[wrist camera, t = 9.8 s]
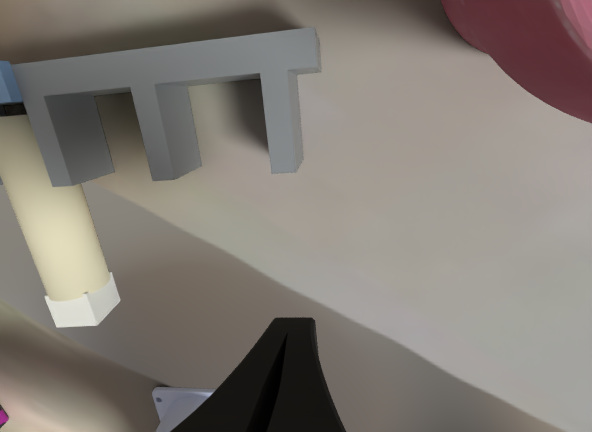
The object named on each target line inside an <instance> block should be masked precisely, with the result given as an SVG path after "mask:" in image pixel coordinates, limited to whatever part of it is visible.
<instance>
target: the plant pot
mask: <svg viewBox="0 0 592 432" xmlns="http://www.w3.org/2000/svg"><path fill="white" fill-rule="evenodd" d="M441 3H442V6H443V8H444V10H445V13H446V15H447V17H448V19H449V20H450V22H451V24H452V25H453V26H454V28H455V29H456V30H457V32H458V33H459V34H460V35H461V36H462V37H463V38H464V39H465V40H466V41H467V42H469V43H470V44H471V45H472V46H474V47H475V48H477V49H479V50H481V51H483V52H485V53H487V54H489V55H490V56H491V57H492V58H493V60H494V61H495V62H496V63H497V64H498V65H499V66H500V67H501V69H502V70H503V71H504V72H505V73H506V74H507V75H509V76H510V77H511V78H512V79H513V80H514V81H515V82H516V83H518V84H519V85H520V86H521V87H523V88H524V89H525V90H526V91H528V92H529V93H531V94H532V95H534V96H536V97H537V98H539V99H540V100H542V101H543V102H545V103H547V104H548V105H550V106H552V107H554V108H556V109H558V110H560V111H562V112H564V113H566V114H569V115H571V116H574V117H576V118H579V119H581V120H584V121H586V122H590V123H592V0H441Z"/></svg>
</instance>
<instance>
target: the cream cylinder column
mask: <svg viewBox="0 0 592 432" xmlns="http://www.w3.org/2000/svg"><path fill="white" fill-rule="evenodd" d="M0 176H1V179H2V182H3V184H4V187H5V189H6V192H7V194H8V197H9V199H10V201H11V204H12V207H13V209H14V212H15V214H16V217H17V219H18V221H19V224H20V227H21V229H22V232H23V234H24V237H25V239H26V242H27V244H28V247H29V249H30V252H31V254H32V257H33V260H34V262H35V265H36V267H37V270H38V272H39V275H40V277H41V280H42V282H43V285H44V287H45V290H46V292H47V295H45V296H44V297H45V299H46V302H47V305H48V307H49V310H50V312H51V314H52V317H53V319H54V322H55V325H56V327H76V326H95V325H98V324H99V323H100V322H101V321H102V320H103V319H104V318H105V317H106V316H107V315H108V313H109V312H110V311H111V310H112V309H113V308H114V307H115V306H116V305H117V304H118V303H119V302H120V297H119V294H118V291H117V288H116V285H115V282H114V278H113V275H112V272H109V271H108V268H107V264H106V261H105V258H104V255H103V252H102V249H101V246H100V242H99V239H98V236H97V233H96V230H95V226H94V223H93V220H92V217H91V214H90V211H89V208H88V204H87V201H86V198H85V195H84V192H83V189H82V185H81V183H80V184H77V185H74V186H64V187H52V184H51V181H50V178H49V175H48V172H47V169H46V166H45V164H44V161H43V158H42V155H41V152H40V149H39V146H38V143H37V140H36V137H35V135H34V132H33V129H32V126H31V123H30V120H29V117H28V115H16V116H4V117H0Z"/></svg>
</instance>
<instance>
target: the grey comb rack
mask: <svg viewBox="0 0 592 432" xmlns="http://www.w3.org/2000/svg"><path fill="white" fill-rule="evenodd" d="M318 72H321V59H320V42H319V38H318V35H317V32H316V29H315V27H308V28H301V29H293V30H285V31H277V32H269V33H261V34H253V35H245V36H237V37H229V38H221V39H213V40H205V41H197V42H189V43H181V44H173V45H165V46H157V47H149V48H141V49H133V50H125V51H117V52H109V53H101V54H93V55H85V56H77V57H69V58H61V59H53V60H45V61H38V62H30V63H22V64H14V65H10V62H9V61H0V117H4V116H6V113H5V110H4V108H3V105H13V104H22V103H24V106H25V109H26V111H27V114H28V117H29V120H30V123H31V126H32V129H33V132H34V135H35V137H36V140H37V143H38V146H39V149H40V152H41V155H42V158H43V161H44V164H45V166H46V169H47V172H48V175H49V178H50V181H51V184H52V187H64V186H74V185H77V184H80V183H83V182H86V181H89V180H92V179H95V178H98V177H101V176H104V175H107V174H109V173H112V172H115V171H114V167H113V164H112V160H111V157H110V153H109V149H108V146H107V142H106V138H105V135H104V131H103V128H102V124H101V120H100V117H99V113H98V109H97V106H96V102H95V99H94V96H98V95H108V94H117V93H127V92H132V96H133V101H134V105H135V109H136V113H137V117H138V121H139V126H140V130H141V134H142V138H143V142H144V147H145V151H146V155H147V159H148V163H149V167H150V172H151V176H152V180H153V181H162V180H175V179H177V178H179V177H181V176H183V175H185V174H187V173H189V172H191V171H193V170H195V169H197V168H199V167H201V166H202V164H201V159H200V153H199V148H198V143H197V137H196V132H195V126H194V121H193V116H192V110H191V105H190V99H189V94H188V89H187V86H194V85H203V84H213V83H222V82H232V81H241V80H251V79H260V78H261V86H262V95H263V104H264V112H265V121H266V130H267V139H268V147H269V156H270V165H271V173H272V174H276V173H293V172H297V170H298V168H299V166H300V165H301V163H302V161H303V159H304V158H303V146H302V133H301V121H300V109H299V96H298V84H297V75H299V74H308V73H318ZM2 184H3V182H2V179H1V176H0V185H2Z"/></svg>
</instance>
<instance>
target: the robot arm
mask: <svg viewBox="0 0 592 432" xmlns="http://www.w3.org/2000/svg"><path fill="white" fill-rule="evenodd" d="M315 326H316V325H315V320H314V319H313V318H275V319H274V320H273V321H272V322H271V324H270V325H269V327H268V328H267V329H266V331H265V332H264V333H263V335H262V336H261V338H260V339H259V340H258V341H257V343H256V344H255V345H254V347H253V348H252V349H251V350H250V352H249V353H248V354H247V355H246V357H245V358H244V359H243V360H242V362H241V363H240V364H239V365H238V366H237V367H236V368H235V370H234V371H233V372H232V373H231V374H230V375H229V377H227V379H226V380H225V381H224V382H223V383H222V384H221V385H220V386H219V387H218V388H217V389H201V388H174V387H156V388H154V390H153V392H152V396H153V400H154V403H155V406H156V409H157V413H158V416H159V419H160V424H159V426H158V428H157V429H156V431H155V432H346V431H345V428H344V426H343V424H342V422H341V420H340V417H339V415H338V413H337V410H336V408H335V405H334V403H333V400H332V398H331V395H330V393H329V390H328V387H327V384H326V381H325V378H324V375H323V372H322V369H321V365H320V361H319V356H318V346H317V336H316V327H315Z"/></svg>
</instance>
